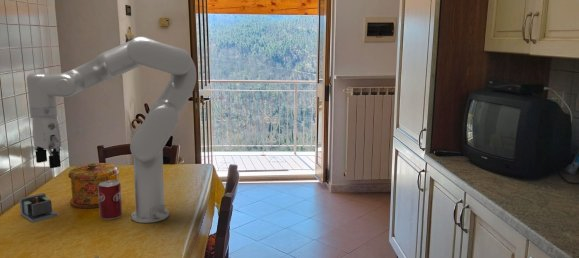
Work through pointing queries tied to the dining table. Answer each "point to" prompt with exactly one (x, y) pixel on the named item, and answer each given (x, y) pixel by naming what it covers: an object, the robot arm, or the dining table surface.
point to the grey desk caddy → (27, 208)
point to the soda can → (110, 200)
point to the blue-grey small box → (41, 207)
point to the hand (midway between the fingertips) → (48, 164)
